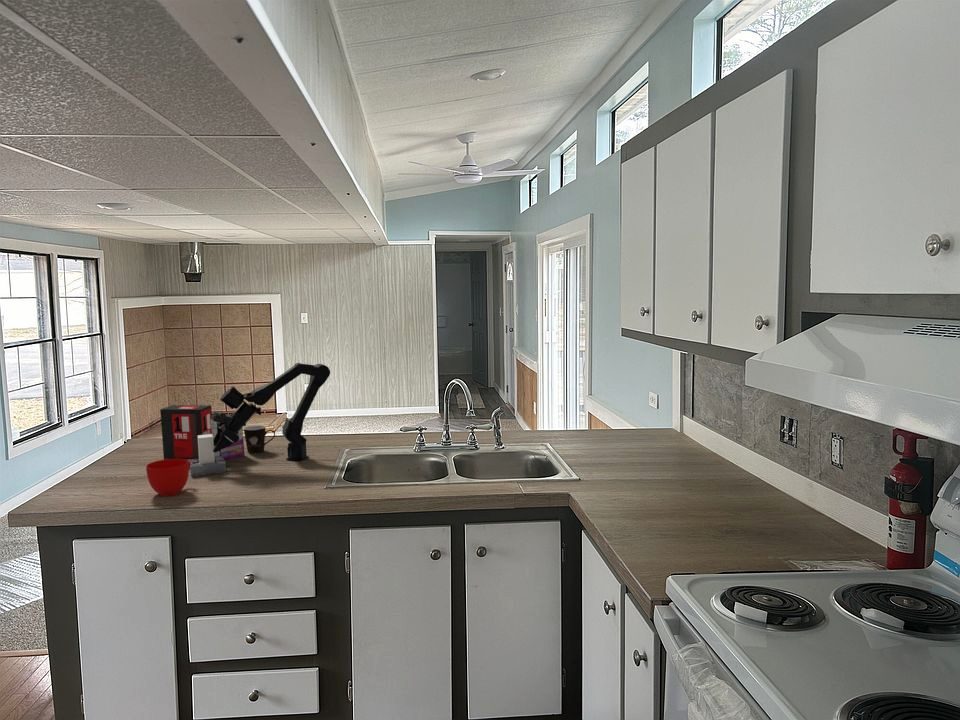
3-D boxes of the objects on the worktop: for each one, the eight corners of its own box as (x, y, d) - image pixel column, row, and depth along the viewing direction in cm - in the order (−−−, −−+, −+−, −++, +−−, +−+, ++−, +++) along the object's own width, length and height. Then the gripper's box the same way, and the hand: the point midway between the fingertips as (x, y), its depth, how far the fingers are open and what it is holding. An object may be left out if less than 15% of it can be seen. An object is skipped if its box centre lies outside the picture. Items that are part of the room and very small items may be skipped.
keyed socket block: (222, 464, 268) (222, 455, 267) (226, 472, 257) (225, 462, 256) (188, 468, 262) (188, 459, 262) (191, 476, 252) (190, 467, 251)
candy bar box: (237, 453, 284) (235, 413, 282) (244, 455, 281) (242, 415, 279) (212, 459, 275) (210, 418, 273) (219, 461, 272) (217, 420, 270)
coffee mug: (240, 453, 284) (239, 429, 283) (253, 448, 292) (251, 425, 291) (265, 455, 280) (263, 430, 279) (277, 450, 289) (276, 426, 287)
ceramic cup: (206, 485, 241) (204, 456, 240) (172, 500, 225) (170, 470, 224) (174, 482, 245) (172, 454, 243) (139, 497, 228) (137, 467, 227)
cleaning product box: (163, 459, 278) (160, 409, 275) (175, 453, 286) (172, 405, 284) (203, 459, 276) (200, 409, 273) (214, 453, 285) (211, 405, 282)
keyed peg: (213, 467, 263) (211, 434, 261) (215, 471, 258) (213, 436, 257) (195, 470, 260) (193, 436, 259) (196, 473, 256) (194, 438, 254)
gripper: (221, 399, 268) (192, 431, 265) (227, 407, 252) (196, 441, 248) (244, 417, 273) (216, 448, 269) (251, 426, 256) (221, 459, 253)
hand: (212, 449), depth 260 cm, fingers open, 9 cm apart
